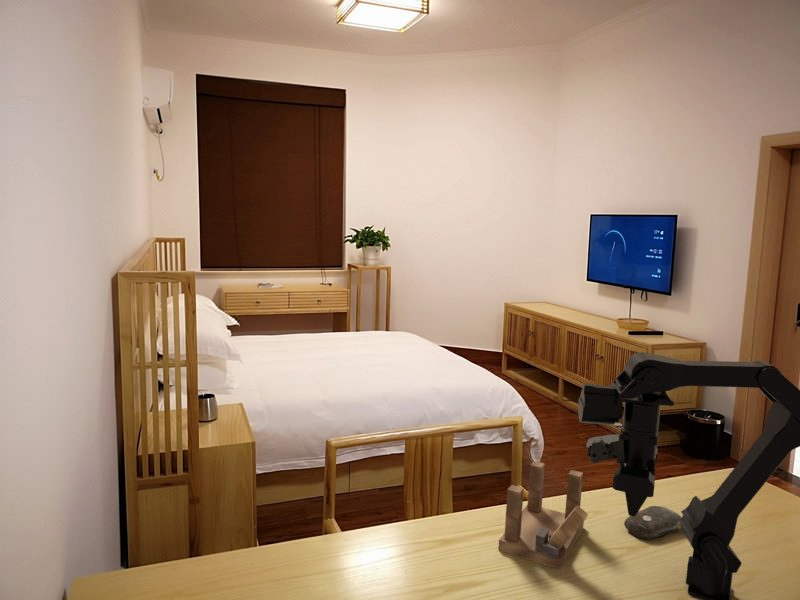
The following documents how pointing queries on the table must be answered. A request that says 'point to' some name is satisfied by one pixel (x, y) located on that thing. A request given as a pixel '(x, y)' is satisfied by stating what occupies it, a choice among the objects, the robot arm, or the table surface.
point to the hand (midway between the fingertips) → (632, 512)
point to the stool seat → (539, 520)
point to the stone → (653, 522)
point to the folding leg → (568, 527)
